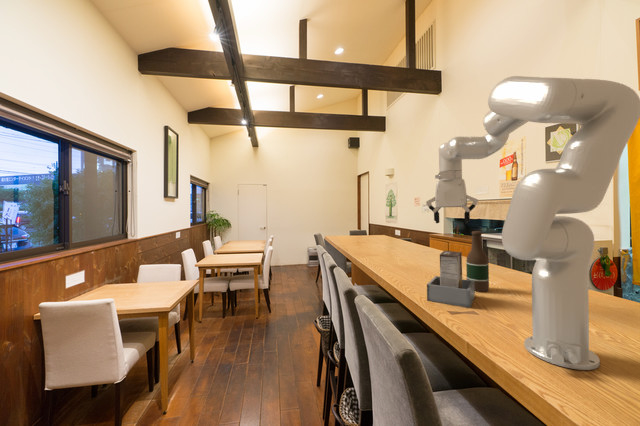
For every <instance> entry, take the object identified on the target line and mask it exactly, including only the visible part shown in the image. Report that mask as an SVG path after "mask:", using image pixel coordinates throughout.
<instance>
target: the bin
mask: <svg viewBox="0 0 640 426" xmlns="http://www.w3.org/2000/svg"><path fill="white" fill-rule="evenodd" d="M475 293H476V292H475V285H474V281H472V280H467V279H464V278H462V289H460V288H453V287H446V286H440V275H435V276H434V277H433V278H431V280H430V281H429V282H427V284H426V300H427V301H428V302H433V303H439V304H446V305H450V306H455V307H462V308H466V309H471V307H472V305H473V302H474V299H475V295H476V294H475Z"/></svg>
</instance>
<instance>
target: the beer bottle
mask: <svg viewBox="0 0 640 426" xmlns="http://www.w3.org/2000/svg"><path fill="white" fill-rule="evenodd" d="M482 234H483V232H482V231H480V230H473V231H471V249H470V251H469V253H468V254H467V256H466V260H465V261H466V263H465V264H466V280H472V281H474V285H475V291H476V292H475V293H486V292H489V289H490V277H489V275H490V272H489V268H490V267H489V258H488V255H487V254H486V252H485V251H484V248H483V240H482V239H483V237H482Z"/></svg>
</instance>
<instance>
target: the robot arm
mask: <svg viewBox="0 0 640 426" xmlns="http://www.w3.org/2000/svg"><path fill="white" fill-rule="evenodd" d="M487 106H488V108H489V111H488V112H487V113H486V114H485V115H484V117H483V120H482V122H483V123H482V124H483V127H484V129H485V132H486V134H485V135H483V136H455V137H452V138H450V140H448V141H447V142H445V143H442V144H440V145H439V147H438V169H439V170H438V171H439V172H438V174H436V175H435V174H434V175H435V176H434V178H435V179H436V180H438V181H436V186H435V196H434V197H432V198H430V199H428V200H426V201H425V202H426V205H427V207H428V208H429V210H430V211H432V212H433V222H434V221H435V224H439V223H440V212H439V211H440V210H441V208H462V209H463V210H464V217H463V218H464V224H468V223H469V222H470V221H471V218H470V217H471V215H470V214H471V212H472V210H473V209H474V208H476V206H477V205H478V202H479V198H475V197H473V196H470V195H468V194H467V188H466V182H465V179H463V164H462V163H463V161H462V160H483V159H486V158H488V157H490V156H492V155H494V154H495V153H497V152H499V151H500V150H501V149H502V148H504V146H505V145H506V144H507V142H508V139H509V137H510V135H511V134H512V133H513V132H515V131H516V130H518V129H519V128H521V127H522V126H524V125H526V124H527V123H528V122H530V123H538V124H563V125H564V124H571V125H573V124H574V125H575V124H577V125H579V126H580V127H579V128H578V130H577V131H576V132H575V133H573V135H572V136H571V137H570V138H569V139H568V141H567V142H566V144H565V145H564V147H563V150H562V153H561V156H560V159H559V161H558V162H557V165H556V167H555V168H541V169H535V170H533V171H531V172H529V173H527V174H525V175H524V176H522V178H521V179H520V180H519V181H518V183H517V184H516V186H515V189H514V190H513V192H512V196H511V199H510V203H509V206H508V209H507V212H506V216H505V219H504V222H503V227H502V230H501V243H502V246H503V249H504V250H505V252H506V253H507V254H508V255H509V256H511V257H512V258H514V259H516V260H521V261H535V263H534V266H533V269H532V273H531V308H532V310H531V311H532V313H531V314H532V315H531V316H532V317H531V318H532V319H531V320H532V321H531V322H532V325H531V326H532V336H529V337H527V338H525V340H524V348H525V349H526V350H527V351H528V352H529V353H530V354H532V355H533V356H535V357H537V358H539V359H540V360H543V361H545V362H548V363H550V364H553V365H556V366H560V367H562V368H567V369H572V370H578V371H591V370H596V369H597V368H599V367H600V364H601V363H600V362H601V361H600V357H599V356H598V355H597V354H596V353H594V351H592V350H590V326H589V325H590V324H589V322H590V321H589V320H590V319H589V318H590V317H589V313H590V311H589V289H590V287H589V274H590V265H591V259H592V256H593V252H594V247H595V235H594V233H593V230H592V228H591V227H590V226H589V225H588V224H587V223H586V222H584V221H583V220H581V219H579V218H576V217H572V216H566V215H567V214H581V213H583V214H584V213H588V212H590V211H593V210H595V209H596V208H598V207H599V205H601V203H602V202H603V200H604V198H605V196H606V193H607V191H608V189H609V186H610V184H611V181H612V179H613V177H614V175H615V172H616V169H617V168H618V165H619V162H620V160H621V157H622V154H623V152H624V150H625V147H627V144H628V142H629V140H630V138H631V137H632V134H633V133H634V131H635V129H636V127H637V125H638V123H639V121H640V120H639V119H640V97H639V95H638V93H637V92H636V91H635V90H634V89H633V88H631V87H630V86H628V85H627V84H626V85H625V84H623V83H620V82H617V81H613V80H608V79H607V80H606V79H605V80H604V79H595V78H594V79H592V78H570V77H569V78H567V77H540V76H539V77H538V76H521V75H519V76H518V75H515V76H514V75H513V76H509V77H506V78H503V79H502V80H500V82H499V81H498V82H497V83H496V85H495V86H494V87H493V89H492V90H491V92H490V93H489V96H488V100H487ZM468 200H469V201H471V202H472V203H471V205H470V206H469V207H468V206H467V205H468ZM432 203H435V207H434V206H433V205H432Z"/></svg>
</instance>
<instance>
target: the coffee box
mask: <svg viewBox="0 0 640 426" xmlns="http://www.w3.org/2000/svg"><path fill="white" fill-rule="evenodd" d="M462 253H463V252H461V251H450V250H444V251H442V252H441V253H440V254H439V277H440V286H446V287H453V288H460V289H462V279H463V262H462V261H463V259H462V258H463V257H462V256H463V254H462Z"/></svg>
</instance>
